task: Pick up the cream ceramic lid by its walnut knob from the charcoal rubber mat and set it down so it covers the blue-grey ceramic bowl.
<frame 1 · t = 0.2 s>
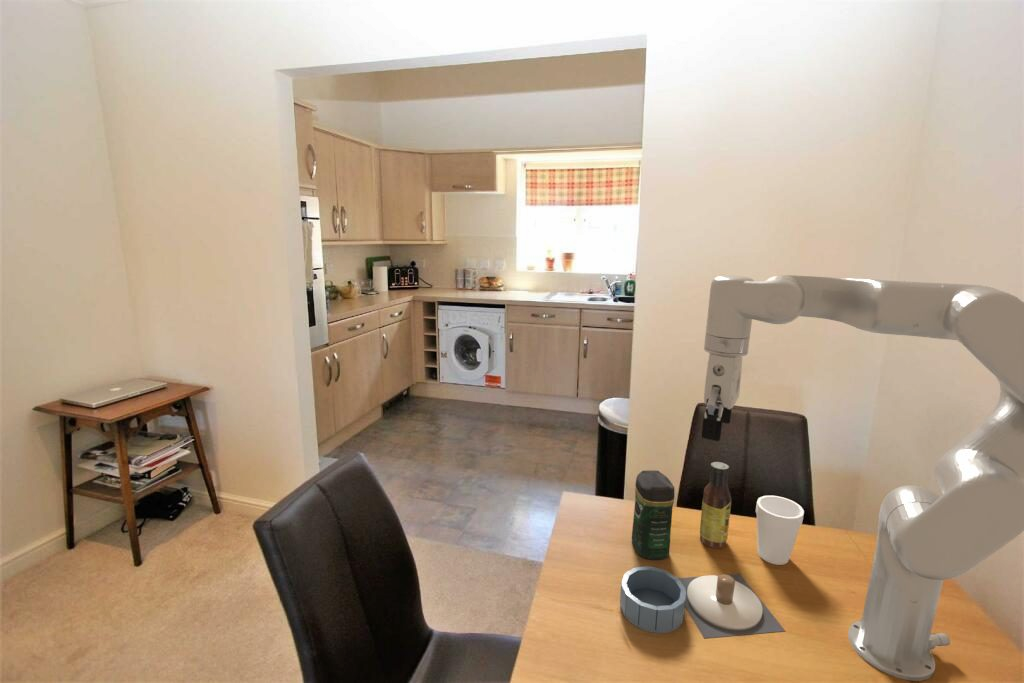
hand: (716, 430, 98), 36 cm above the table, tool pointing down, fingers open, 9 cm apart
coffee jar: (649, 549, 120), on the table
lid: (723, 603, 103), resting on mat
mat: (723, 604, 103), on the table
sauce bottle: (712, 542, 123), on the table
bowl: (651, 610, 101), on the table
foam cup: (772, 557, 118), on the table
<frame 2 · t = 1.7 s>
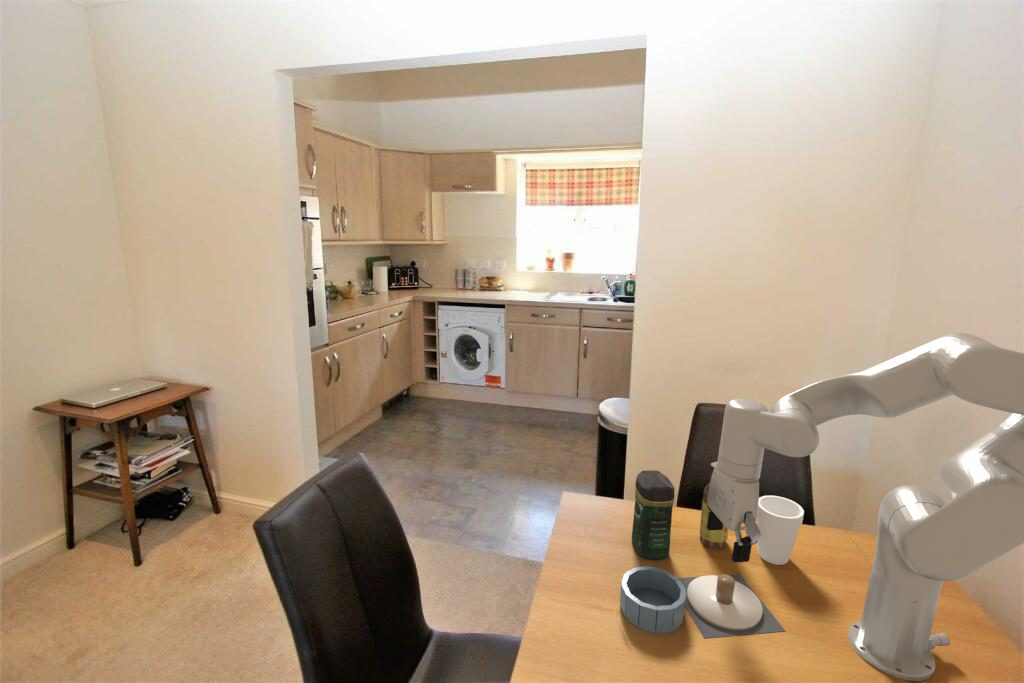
hand: (726, 544, 100), 14 cm above the table, tool pointing down, fingers open, 9 cm apart
nothing on the table moved.
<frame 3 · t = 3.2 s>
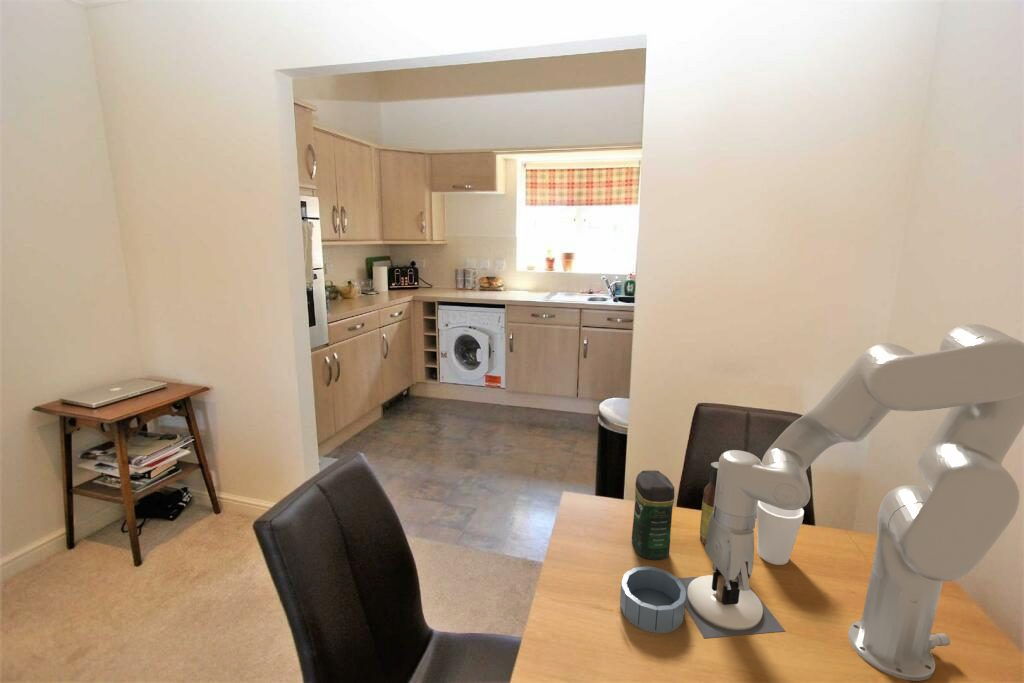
hand: (724, 595, 102), 2 cm above the table, tool pointing down, fingers closed on lid, 3 cm apart
lid: (723, 603, 103), resting on mat, touching gripper
everything else where it was.
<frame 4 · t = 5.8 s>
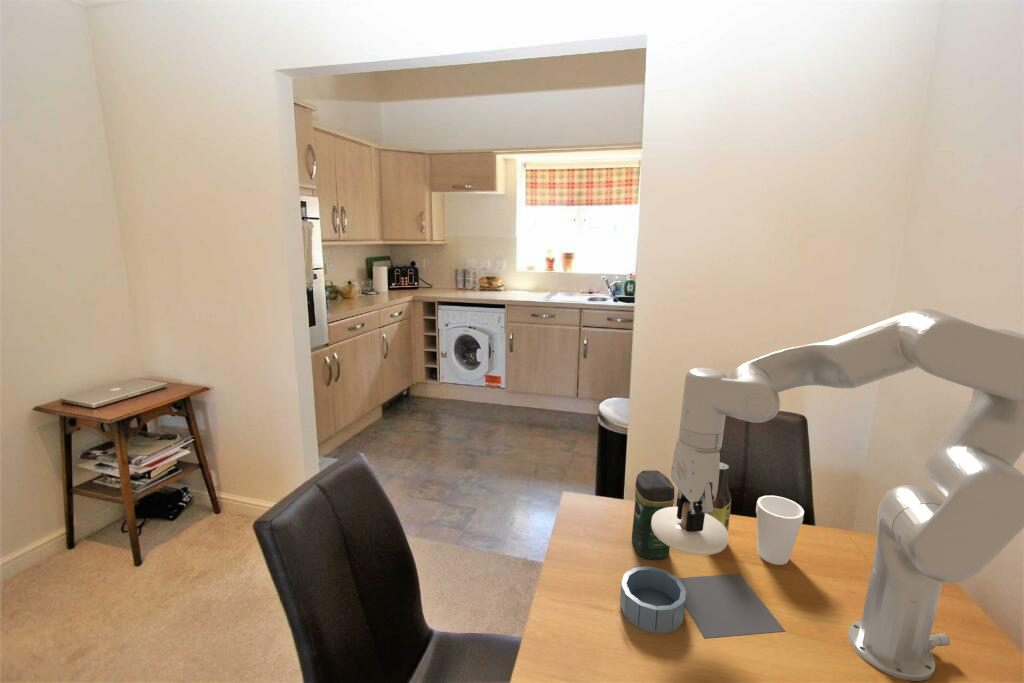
hand: (689, 523, 98), 19 cm above the table, tool pointing down, fingers closed on lid, 3 cm apart
lid: (688, 531, 98), point 17 cm above the table, touching gripper
everything else where it was.
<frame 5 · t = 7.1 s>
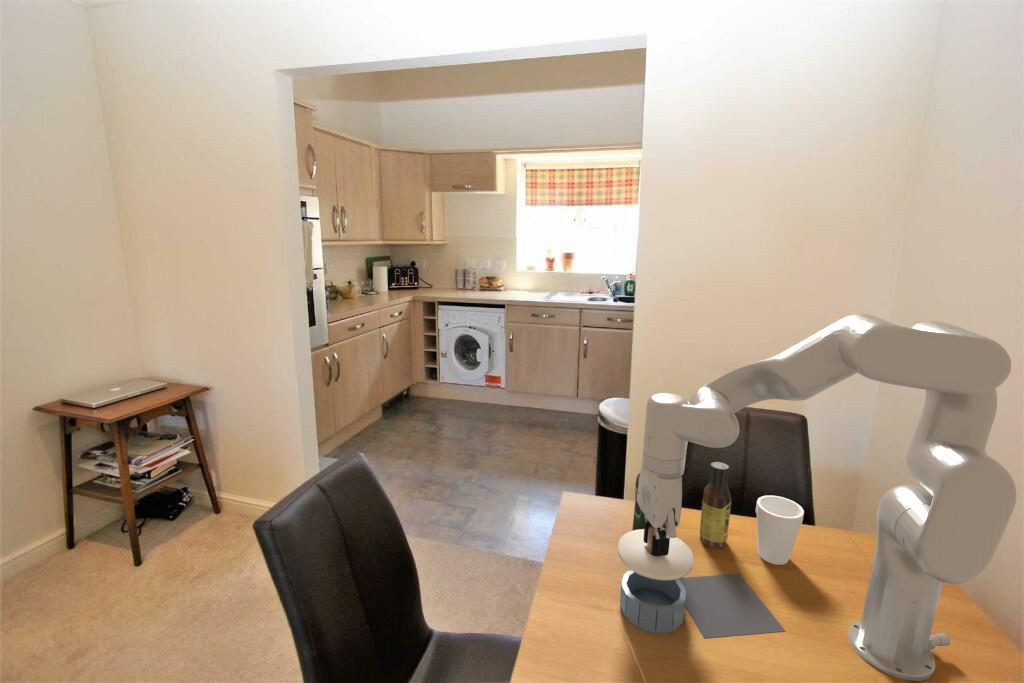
hand: (655, 547, 98), 14 cm above the table, tool pointing down, fingers closed on lid, 3 cm apart
lid: (654, 555, 98), point 13 cm above the table, touching gripper
everything else where it was.
when the fingers open (9 cm above the table, at t = 8.3 s): lid drops 1 cm, resting on bowl.
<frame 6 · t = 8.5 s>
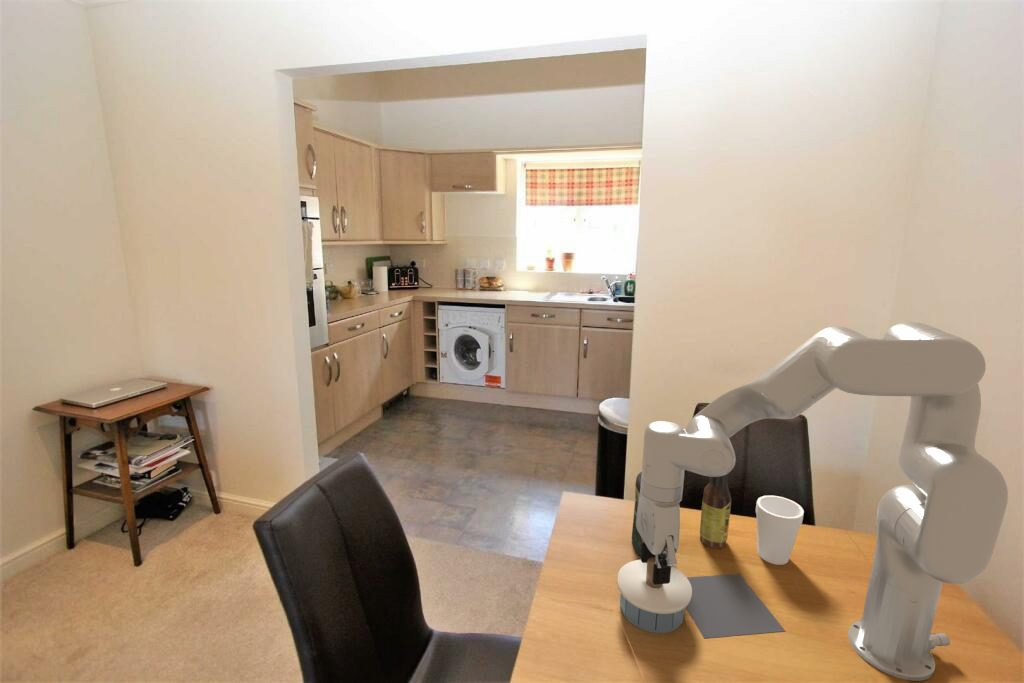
hand: (654, 571, 99), 9 cm above the table, tool pointing down, fingers open, 5 cm apart
lid: (653, 587, 100), point 5 cm above the table, touching bowl
everything else where it was.
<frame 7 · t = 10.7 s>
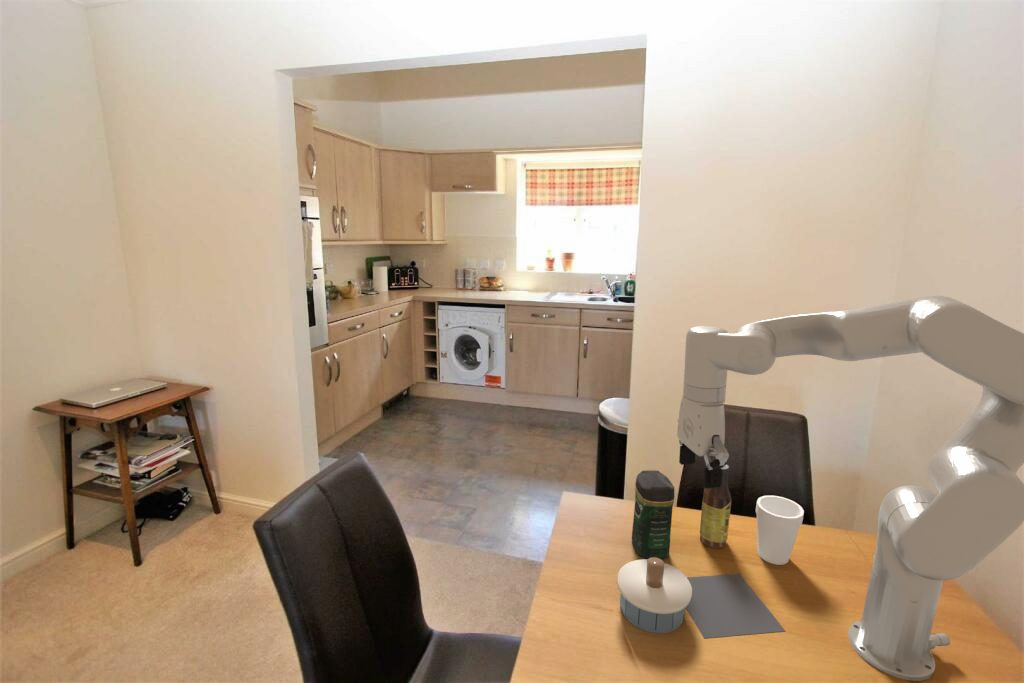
hand: (698, 474, 100), 27 cm above the table, tool pointing down, fingers open, 9 cm apart
nothing on the table moved.
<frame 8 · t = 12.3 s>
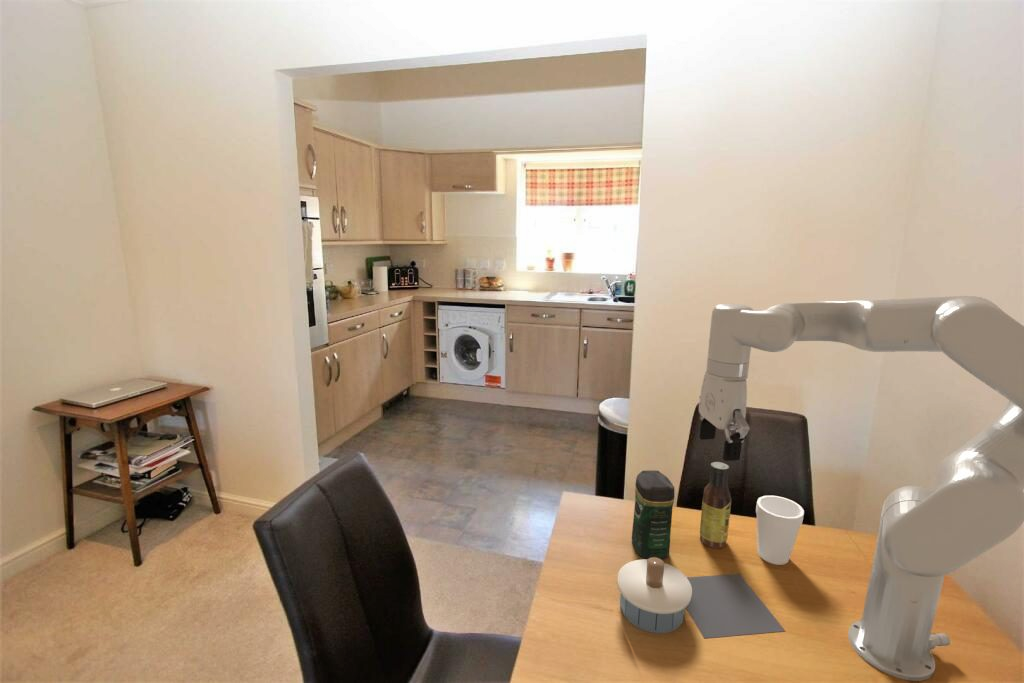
hand: (718, 448, 104), 30 cm above the table, tool pointing down, fingers open, 9 cm apart
nothing on the table moved.
at the end: lid 0.1 cm off-centre on the bowl, point 5.5 cm above the bowl's base; lid tilted 0°; the gripper is holding nothing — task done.
